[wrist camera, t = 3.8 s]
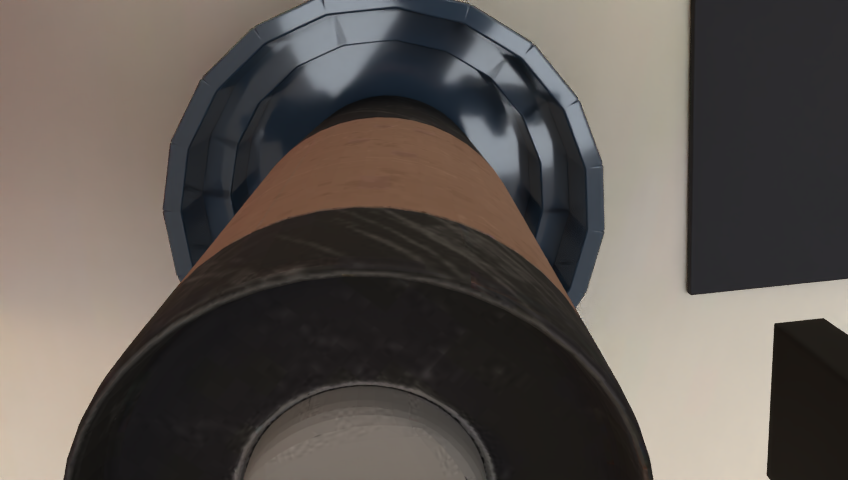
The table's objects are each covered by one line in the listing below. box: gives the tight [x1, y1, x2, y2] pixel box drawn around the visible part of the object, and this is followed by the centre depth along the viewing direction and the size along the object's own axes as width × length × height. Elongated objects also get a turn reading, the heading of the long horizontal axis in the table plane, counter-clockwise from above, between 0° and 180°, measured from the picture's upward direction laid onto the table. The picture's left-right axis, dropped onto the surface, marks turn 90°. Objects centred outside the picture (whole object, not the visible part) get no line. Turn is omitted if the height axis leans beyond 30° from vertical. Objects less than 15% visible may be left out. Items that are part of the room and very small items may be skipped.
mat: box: [687, 0, 848, 295], centre depth 28 cm, size 12×12×1 cm
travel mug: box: [64, 96, 653, 480], centre depth 18 cm, size 8×8×20 cm
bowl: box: [163, 0, 605, 308], centre depth 25 cm, size 14×14×6 cm
